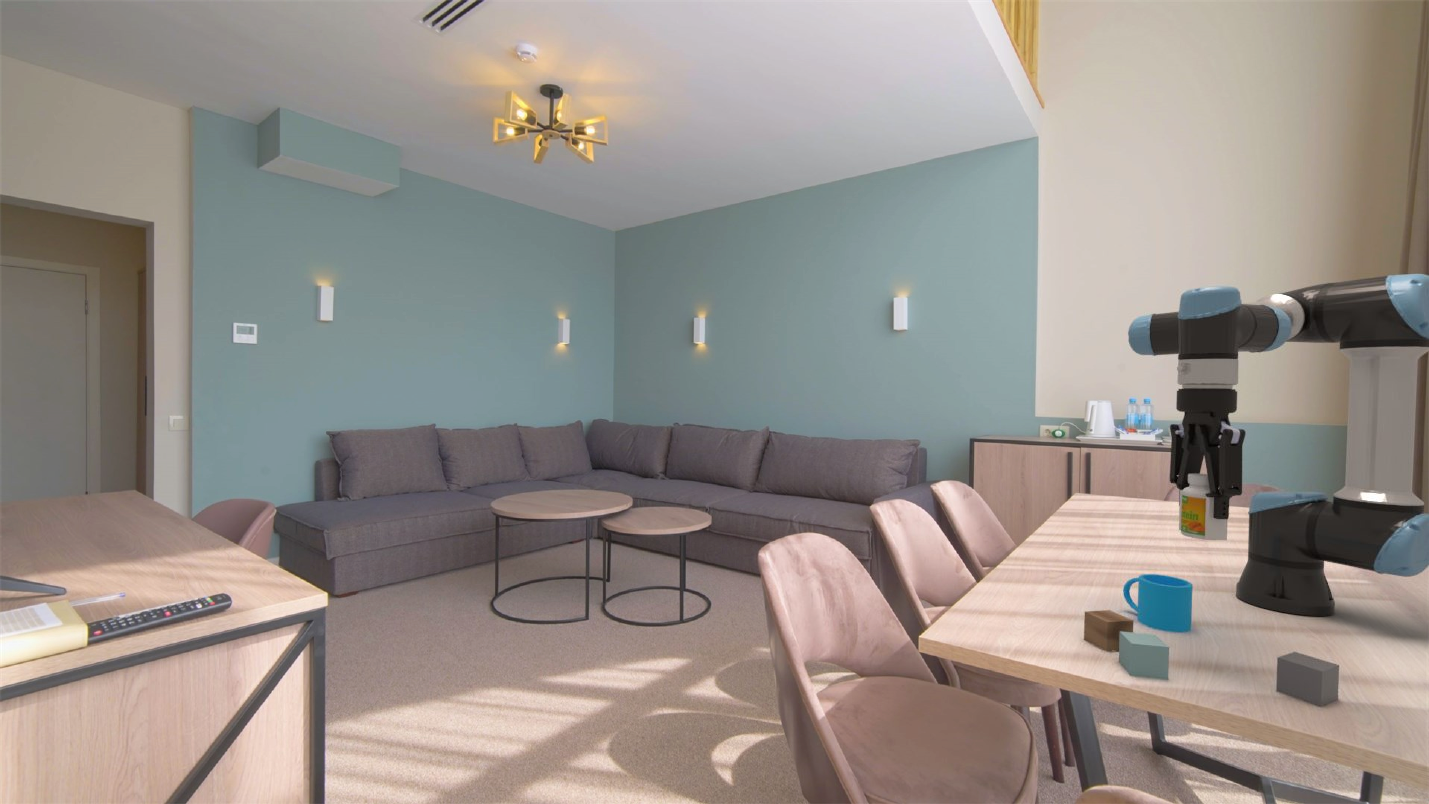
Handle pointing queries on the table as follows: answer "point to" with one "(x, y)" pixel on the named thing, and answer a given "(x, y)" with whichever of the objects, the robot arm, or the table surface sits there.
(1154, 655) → the teal cube
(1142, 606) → the mug
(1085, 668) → the table surface
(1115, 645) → the walnut cube
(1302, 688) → the charcoal cube
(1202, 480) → the supplement bottle
